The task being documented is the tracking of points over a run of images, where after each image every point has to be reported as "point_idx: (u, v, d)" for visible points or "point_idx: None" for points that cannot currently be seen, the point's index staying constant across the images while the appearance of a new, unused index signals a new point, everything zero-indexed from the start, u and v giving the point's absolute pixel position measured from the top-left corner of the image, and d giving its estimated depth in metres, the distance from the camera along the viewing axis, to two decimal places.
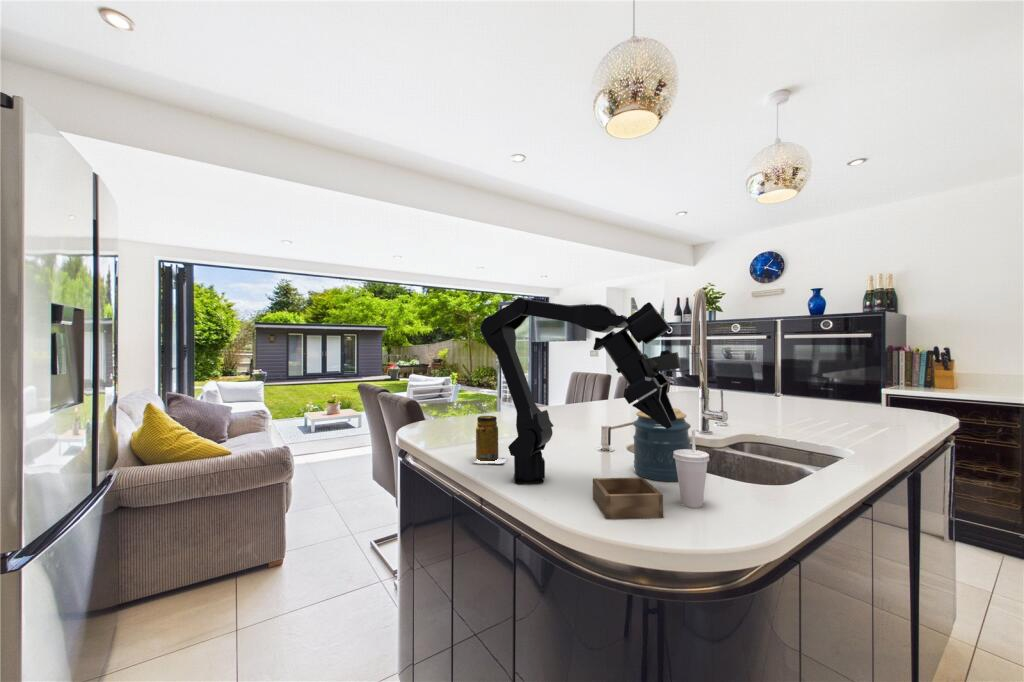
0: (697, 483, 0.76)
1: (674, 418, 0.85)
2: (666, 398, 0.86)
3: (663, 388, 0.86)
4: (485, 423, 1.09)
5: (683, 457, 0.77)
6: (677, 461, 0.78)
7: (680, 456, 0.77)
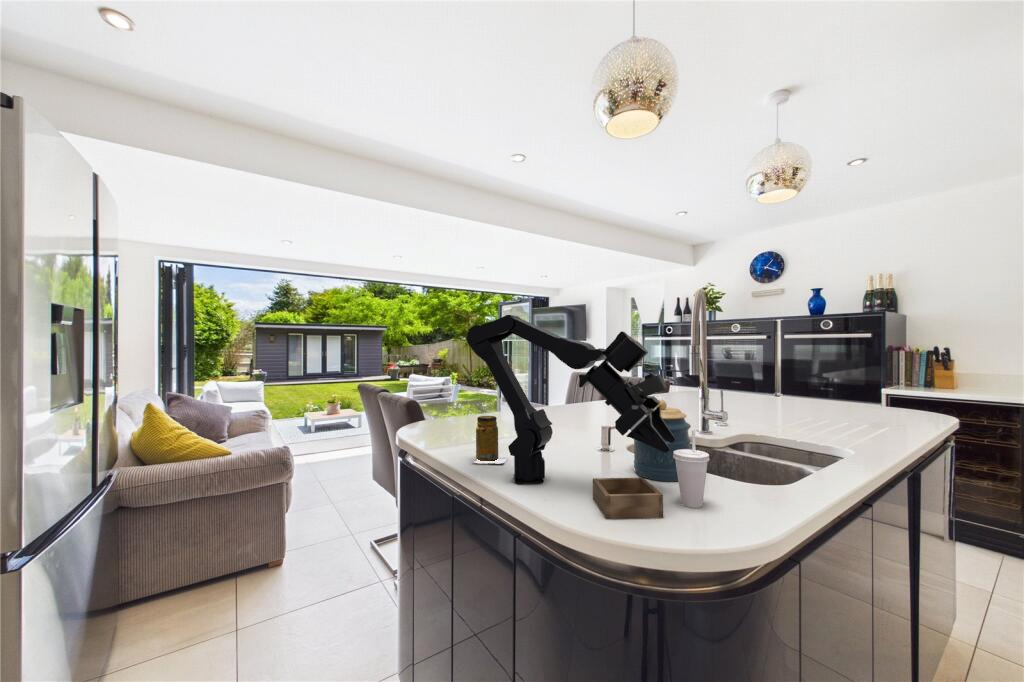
0: (697, 483, 0.76)
1: (673, 439, 0.84)
2: (661, 421, 0.86)
3: (656, 411, 0.87)
4: (485, 423, 1.09)
5: (683, 457, 0.77)
6: (677, 461, 0.78)
7: (680, 456, 0.77)
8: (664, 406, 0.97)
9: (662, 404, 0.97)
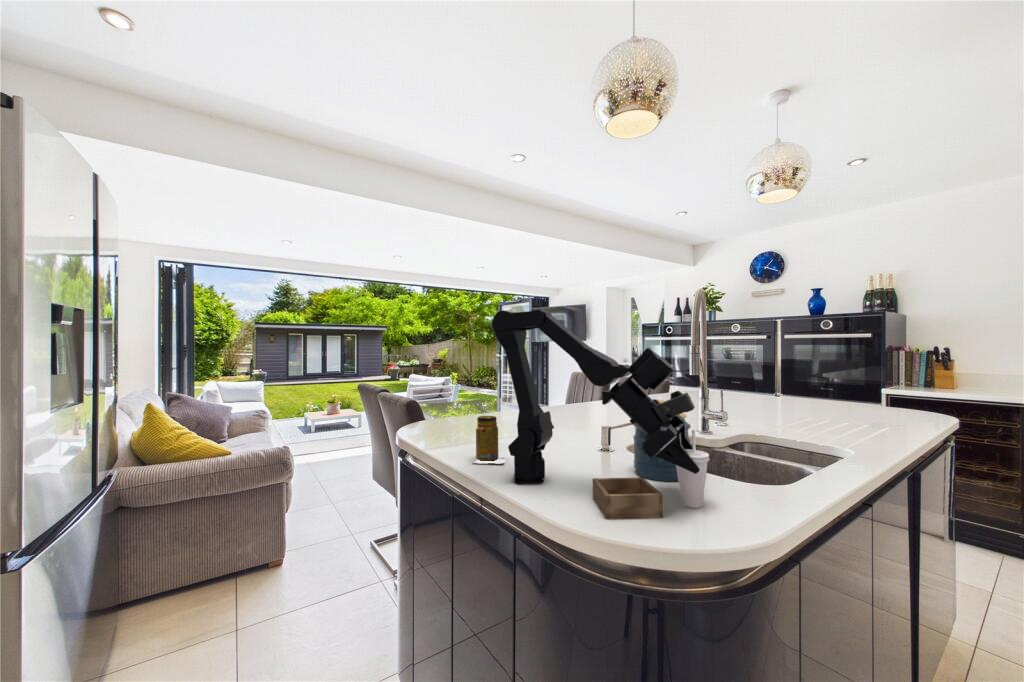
0: (697, 483, 0.76)
1: None
2: (686, 441, 0.82)
3: (681, 431, 0.83)
4: (485, 423, 1.09)
5: None
6: None
7: None
8: None
9: None
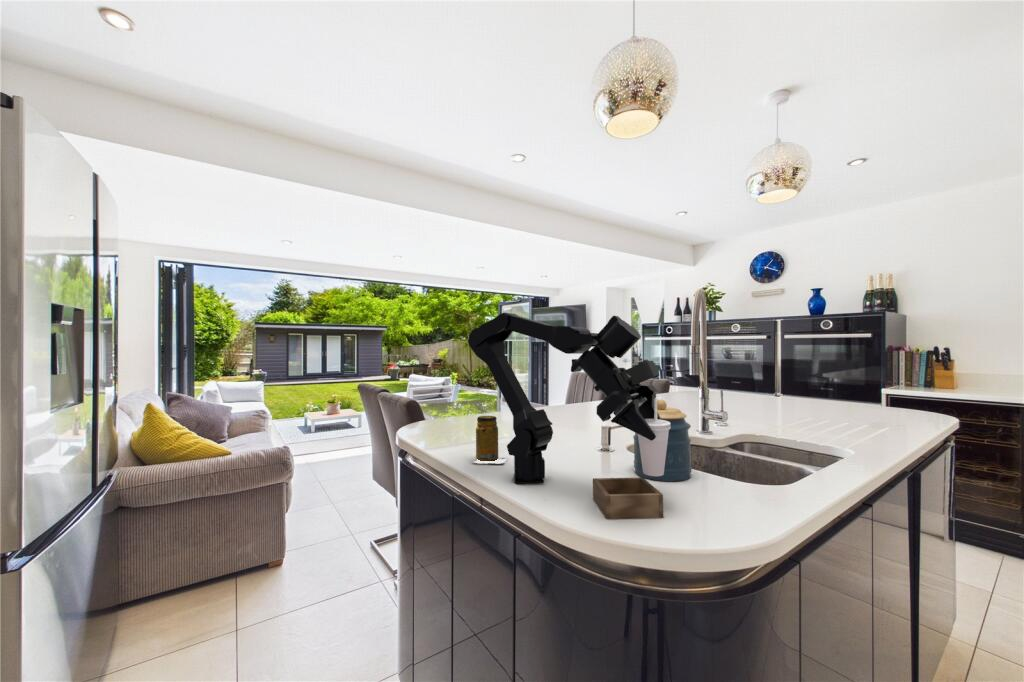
0: (655, 451, 0.75)
1: None
2: (653, 411, 0.81)
3: (648, 400, 0.82)
4: (485, 423, 1.09)
5: None
6: None
7: None
8: (664, 406, 0.97)
9: (662, 404, 0.97)
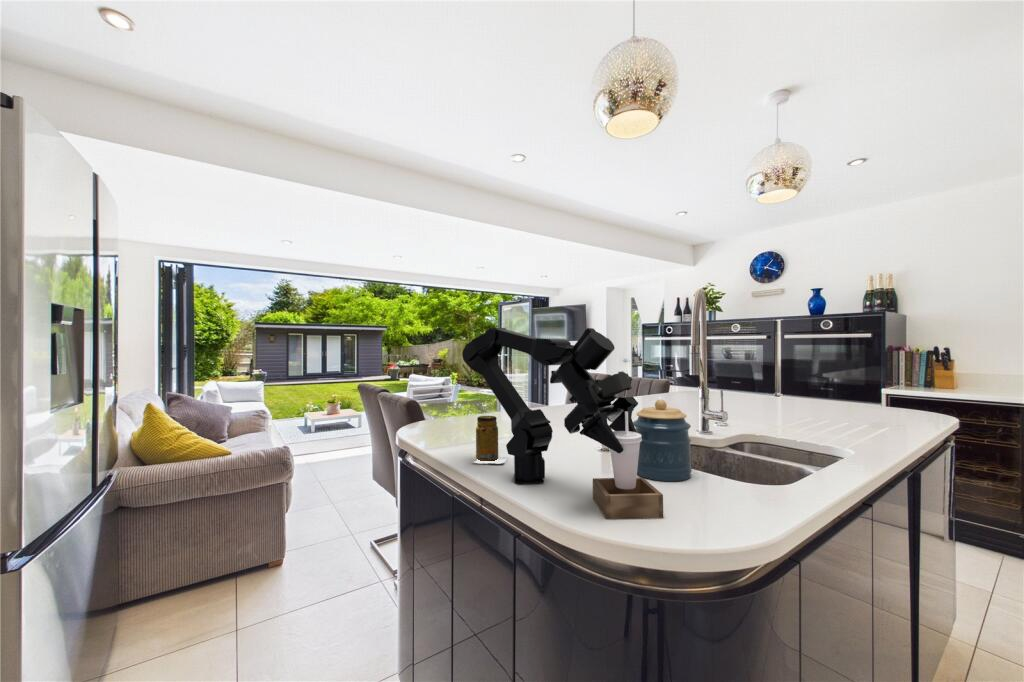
0: (624, 464, 0.75)
1: None
2: (628, 423, 0.81)
3: (624, 413, 0.82)
4: (485, 423, 1.09)
5: None
6: None
7: None
8: (664, 406, 0.97)
9: (662, 404, 0.97)
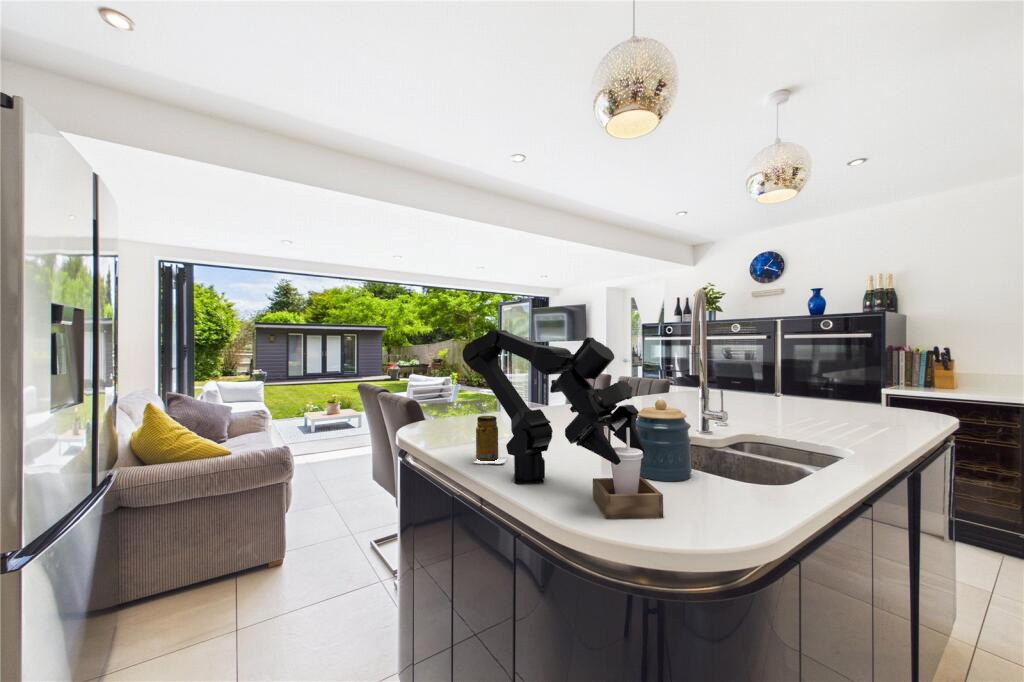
0: (626, 481, 0.75)
1: None
2: (632, 431, 0.81)
3: (628, 421, 0.82)
4: (485, 423, 1.09)
5: None
6: None
7: None
8: (664, 406, 0.97)
9: (662, 404, 0.97)
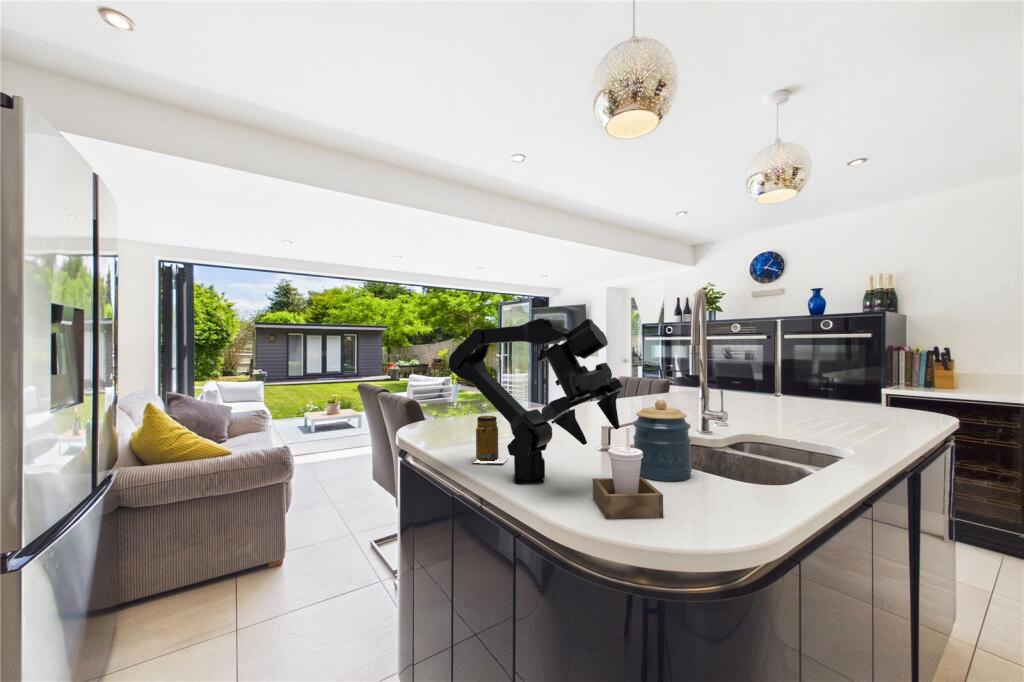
0: (626, 481, 0.75)
1: (616, 427, 0.87)
2: (611, 407, 0.87)
3: (608, 397, 0.88)
4: (485, 423, 1.09)
5: (612, 454, 0.76)
6: (610, 458, 0.78)
7: (610, 453, 0.77)
8: (664, 406, 0.97)
9: (662, 404, 0.97)
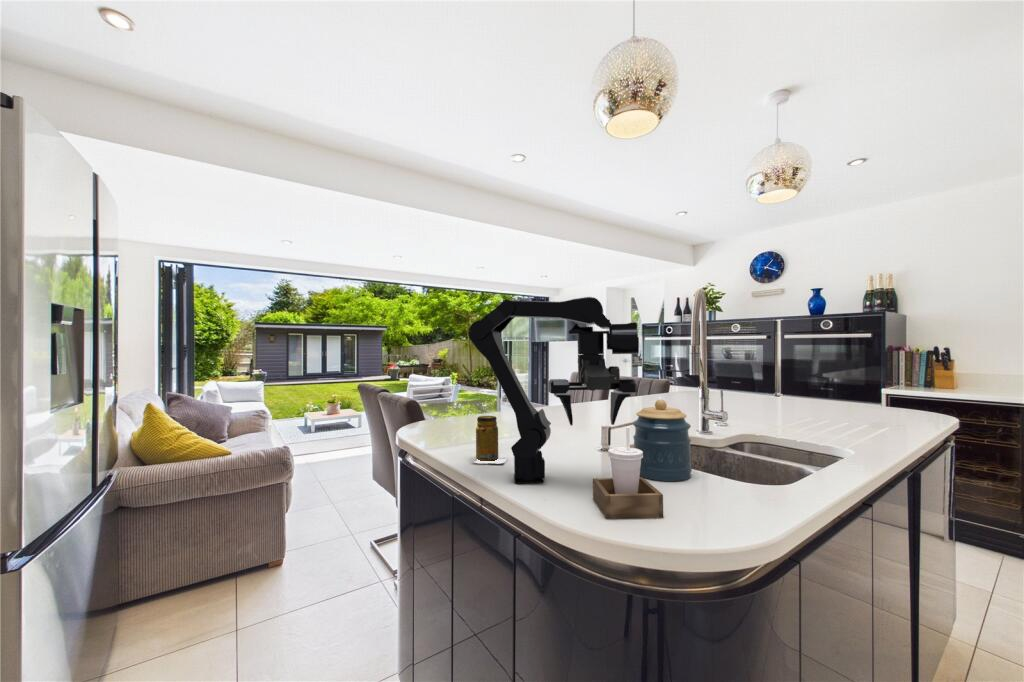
0: (626, 481, 0.75)
1: (611, 423, 0.91)
2: (614, 404, 0.90)
3: (616, 395, 0.90)
4: (485, 423, 1.09)
5: (612, 454, 0.76)
6: (610, 458, 0.78)
7: (610, 453, 0.77)
8: (664, 406, 0.97)
9: (662, 404, 0.97)
